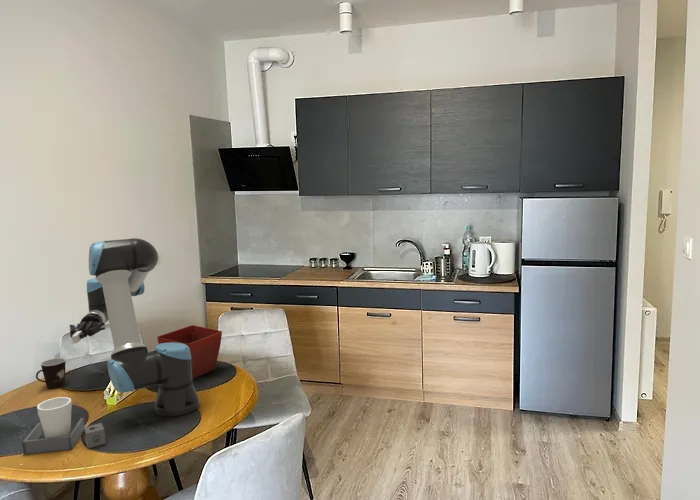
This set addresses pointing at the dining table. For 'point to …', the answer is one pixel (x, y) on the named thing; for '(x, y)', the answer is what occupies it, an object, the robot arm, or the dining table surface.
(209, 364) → the plant pot
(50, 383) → the coffee mug
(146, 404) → the dining table surface
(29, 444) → the tray
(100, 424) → the grey cube
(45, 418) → the foam cup
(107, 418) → the dining table surface
